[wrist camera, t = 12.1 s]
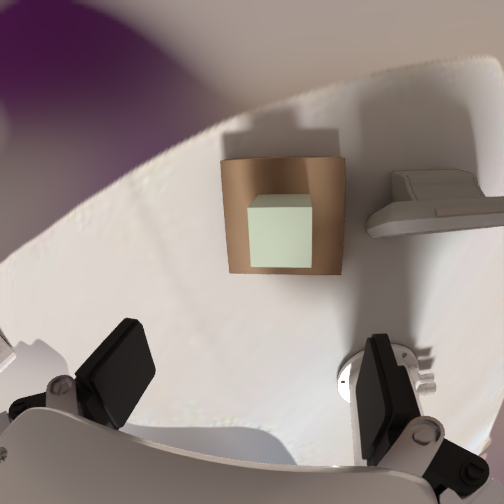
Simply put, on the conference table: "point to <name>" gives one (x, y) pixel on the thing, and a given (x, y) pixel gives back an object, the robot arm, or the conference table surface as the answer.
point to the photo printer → (5, 354)
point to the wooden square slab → (286, 182)
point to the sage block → (280, 230)
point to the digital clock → (435, 205)
